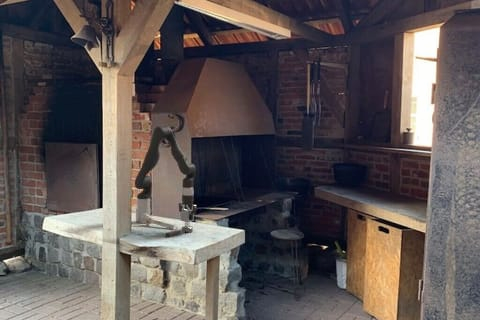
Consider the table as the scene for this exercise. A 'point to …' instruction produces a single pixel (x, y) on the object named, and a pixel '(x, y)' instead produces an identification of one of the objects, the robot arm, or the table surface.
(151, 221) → the wrench
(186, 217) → the socket
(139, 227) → the table surface
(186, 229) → the ratchet
